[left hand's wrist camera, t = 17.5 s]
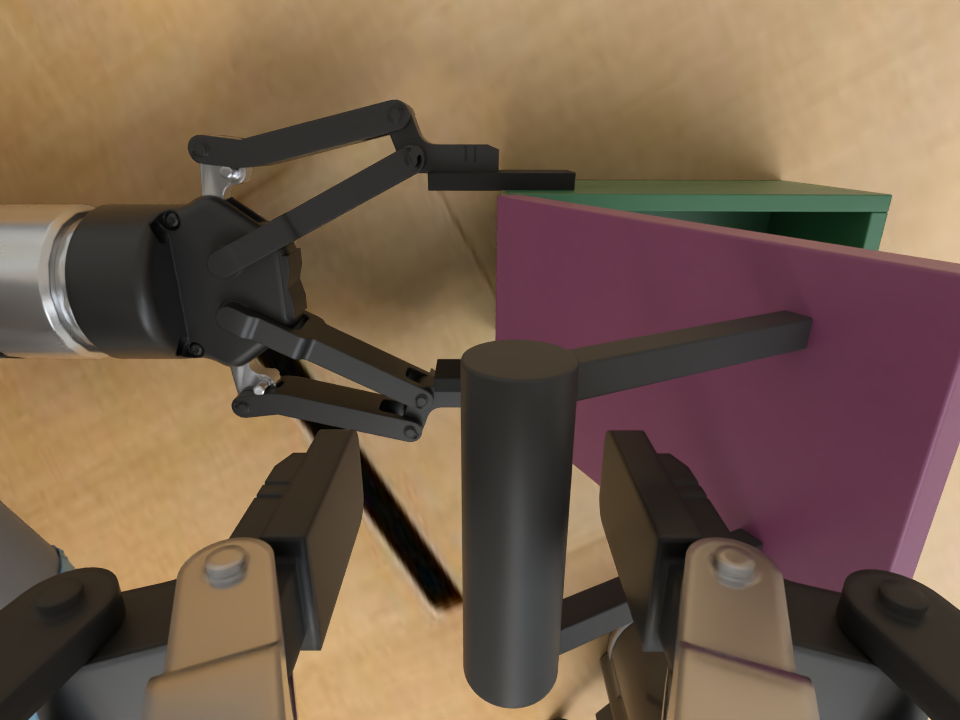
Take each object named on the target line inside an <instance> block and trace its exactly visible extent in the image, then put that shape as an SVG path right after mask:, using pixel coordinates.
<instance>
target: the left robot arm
mask: <svg viewBox="0 0 960 720" xmlns="http://www.w3.org/2000/svg"><path fill="white" fill-rule="evenodd" d="M599 502H600V515H601V521H602V525H603V528H604V531H605V534H606V537H607V540H608V544H609V547H610V550H611V553H612V556H613V559H614V562H615V566H616V569H617V572H618V575H619V578H620V581H621V584H622V587H623V591H624V594H625V597H626V600H627V603H628V606H629V609H630V613H631V616H632V619H633V622H632V623H629V624H627V625H625V626H623V627H620V628H618V629H616V630H614V631H612V633H611V635H610V638H609V641H608V648H607V651H608V652H607V653H606V654H605V655H604V656H603V657H602V658H601V659H600V664H601V668H602V673H603V677H604V681H605V686H606V690H607V694H608V699H609V704H607V705H606V706H605V707H604V708H602V709H601V710H600V711H599V712H597V713H596V719H597V720H928V717H929V718H930V719H931V720H960V610H959V609H957V608H956V607H955V606H954V605H952V604H951V603H950V602H948V601H947V600H946V599H944V598H943V597H942V596H940V595H939V594H938V593H936V592H935V591H933V590H932V589H930V588H928V587H927V586H925V585H923V584H921V583H919V582H917V581H915V580H913V579H910V578H908V577H905V576H903V575H900V574H896V573H893V572H889V571H884V570H877V569H864V570H858V571H855V572H853V573H851V574H849V575H848V576H847V577H846V579H845V582H844V585H843V588H842V592H836V591H832V590H827V589H823V588H818V587H814V586H809V585H805V584H800V583H797V582H793V581H790V580H787V579H784V578H783V576H782V573H781V571H780V569H779V567H778V566H777V565H776V563H775V562H774V561H773V560H772V559H771V558H770V557H769V556H767V555H766V554H765V553H763V552H762V551H760V550H759V549H757V548H755V547H753V546H751V545H749V544H746V543H744V542H741V541H737V540H735V539H734V537H733V535H732V534H731V532H730V531H729V529H728V528H727V526H726V524H725V523H724V521H723V520H722V518H721V517H720V515H719V514H718V512H717V510H716V509H715V507H714V506H713V504H712V503H711V501H710V499H707V495H706V493H705V492H704V490H703V489H702V487H701V486H699V482H698V481H697V479H696V478H695V476H694V475H693V473H692V471H691V470H690V468H689V467H688V466H687V465H685V464H684V463H683V462H681V461H680V460H678V459H677V458H676V457H674V456H673V455H671V454H670V453H657V452H656V451H655V449H654V447H653V445H652V444H651V442H650V440H649V438H648V437H647V435H646V433H645V432H644V431H643V430H608V431H607V432H606V435H605V439H604V450H603V461H602V472H601V483H600V497H599ZM362 513H363V485H362V474H361V462H360V451H359V440H358V435H357V432H356V430H319V431H318V433H317V435H316V436H315V438H314V440H313V442H312V444H311V445H310V447H309V449H308V451H307V453H292V454H291V455H290V456H288V457H287V458H285V459H284V460H283V461H281V462H280V463H278V464H277V465H276V466H275V467H274V468H273V470H272V471H271V473H270V475H269V476H268V478H267V479H266V481H265V485H263V486H262V487H261V489H260V490H259V492H258V494H257V498H254V500H253V501H252V503H251V505H250V506H249V508H248V509H247V511H246V513H245V514H244V516H243V517H242V519H241V520H240V522H239V524H238V525H237V527H236V528H235V530H234V532H233V533H232V535H231V536H230V538H229V539H226V540H223V541H219V542H216V543H214V544H211V545H209V546H207V547H205V548H203V549H201V550H200V551H198V552H197V553H195V554H194V555H193V556H191V557H190V558H189V559H188V560H187V561H186V562H185V563H184V565H183V566H182V567H181V569H180V571H179V573H178V576H177V579H175V580H172V581H168V582H164V583H160V584H155V585H151V586H146V587H141V588H137V589H132V590H128V591H123V592H121V590H120V586H119V583H118V580H117V577H116V576H115V575H114V574H113V573H112V572H111V571H109V570H106V569H103V568H95V567H92V568H80V569H75V570H70V571H67V572H63V573H60V574H57V575H55V576H52V577H50V578H48V579H46V580H44V581H41V582H39V583H38V584H36V585H34V586H33V587H31V588H29V589H28V590H26V591H25V592H24V593H22V594H21V595H19V596H18V597H17V598H16V599H14V600H13V601H12V602H10V603H9V604H8V605H6V606H5V607H4V608H3V609H1V610H0V720H29V719H30V718H31V717H32V716H33V715H34V714H35V713H37V716H38V719H39V720H299V719H298V710H297V700H296V691H295V682H294V675H293V669H294V666H295V664H296V661H297V658H298V655H299V652H300V650H321V648H322V645H323V642H324V639H325V636H326V632H327V629H328V626H329V623H330V620H331V616H332V613H333V610H334V607H335V604H336V600H337V597H338V594H339V591H340V588H341V584H342V581H343V578H344V575H345V572H346V568H347V565H348V562H349V559H350V556H351V552H352V549H353V546H354V543H355V540H356V536H357V533H358V530H359V527H360V523H361V519H362ZM557 720H566V719H557Z"/></svg>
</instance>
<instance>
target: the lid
mask: <svg viewBox="0 0 960 720" xmlns="http://www.w3.org/2000/svg"><path fill="white" fill-rule="evenodd" d="M460 370H461V470H462V570H463V667H464V673H465V677H466V679H467V681H468V683H469V685H470V686H471V688H472V689H473V690H474V692H475V693H476V694H477V695H478V696H479V697H481V698H482V699H484V700H485V701H487V702H489V703H491V704H493V705H496V706H499V707H503V708H523V707H527V706H530V705H532V704H535V703H537V702H538V701H540V700H541V699H543V698H544V697H545V696H546V695H547V694H548V693H549V692H550V690H551V689H552V687H553V686H554V684H555V681H556V678H557V673H558V660H559V655H561V654H563V653H565V652H567V651H569V650H572V649H574V648H576V647H578V646H581V645H583V644H585V643H587V642H589V641H592V640H594V639H596V638H598V637H601V636H603V635H605V634H607V633H609V632H612V631H614V630H616V629H618V628H620V627H623V626H625V625H627V624H629V623H632V622H633V619H632V616H631V613H630V609H629V606H628V603H627V600H626V597H625V594H624V591H623V587H622V584H621V581H620V578H619V577H617V578H614V579H612V580H609V581H607V582H604V583H602V584H599V585H597V586H594V587H592V588H589V589H587V590H584V591H582V592H579V593H577V594H574V595H572V596H569V597H567V598H564V599H563V589H564V575H565V561H566V546H567V532H568V518H569V504H570V490H571V476H572V464H574V465H575V466H576V467H577V468H579V469H580V470H581V471H582V472H584V473H585V474H586V475H587V476H588V477H590V478H591V479H592V480H593V481H595V482H596V483H597V484H598V485H600V483H601V472H602V461H603V450H604V439H605V435H606V432H607V431H608V430H643V431H644V432H645V433H646V435H647V437H648V438H649V440H650V442H651V444H652V445H653V447H654V449H655V451H656V452H657V453H670V454H671V455H673V456H674V457H676V458H677V459H678V460H680V461H681V462H683V463H684V464H685V465H687V466H688V467H689V468H690V470H691V471H692V473H693V475H694V476H695V478H696V479H697V481H698V482H699V486H701V487H702V489H703V490H704V492H705V493H706V495H707V499H710V501H711V503H712V504H713V506H714V507H715V509H716V510H717V512H718V514H719V515H720V517H721V518H722V520H723V521H724V523H725V524H726V526H727V528H728V529H729V531H730V532H731V534H732V535H733V537H734V539H735V540H737V541H741V542H744V543H746V544H749V545H751V546H753V547H755V548H757V549H759V550H760V551H762V552H763V553H765V554H766V555H767V556H769V557H770V558H771V559H772V560H773V561H774V562H775V563H776V565H777V566H778V567H779V569H780V571H781V573H782V576H783V578H784V579H787V580H790V581H793V582H797V583H800V584H805V585H809V586H814V587H818V588H823V589H827V590H832V591H836V592H842V588H843V585H844V582H845V579H846V577H847V576H848V575H849V574H851V573H853V572H855V571H858V570H864V569H877V570H884V571H889V572H893V573H896V574H900V575H903V576H905V577H908V578H910V579H912V578H913V575H914V572H915V569H916V567H917V564H918V561H919V558H920V555H921V552H922V549H923V546H924V543H925V541H926V538H927V535H928V532H929V529H930V526H931V523H932V520H933V517H934V515H935V512H936V509H937V506H938V503H939V500H940V497H941V494H942V492H943V489H944V486H945V483H946V480H947V477H948V474H949V471H950V468H951V466H952V463H953V460H954V457H955V454H956V451H957V448H958V445H959V442H960V264H958V263H951V262H945V261H938V260H932V259H926V258H919V257H913V256H907V255H900V254H894V253H888V252H881V251H875V250H869V249H862V248H856V247H849V246H843V245H837V244H830V243H824V242H818V241H811V240H805V239H799V238H792V237H786V236H780V235H773V234H767V233H760V232H754V231H748V230H741V229H735V228H729V227H722V226H716V225H710V224H703V223H697V222H690V221H684V220H678V219H671V218H665V217H659V216H652V215H646V214H640V213H633V212H627V211H621V210H614V209H608V208H601V207H595V206H589V205H582V204H576V203H570V202H563V201H557V200H551V199H544V198H538V197H531V196H525V195H519V194H518V195H499V196H498V197H497V270H496V341H492V342H487V343H483V344H480V345H477V346H474V347H472V348H470V349H468V350H467V351H466V352H465V353H464V354H463V356H462V358H461V362H460Z"/></svg>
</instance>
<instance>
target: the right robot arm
mask: <svg viewBox="0 0 960 720" xmlns="http://www.w3.org/2000/svg"><path fill="white" fill-rule="evenodd" d="M387 135H390V136H391V139H392V141H393V144H394V146H395V149H396V152H395V153H393V154H391V155H389V156H387V157H386V158H384V159H382V160H380V161H378V162H377V163H375V164H373V165H371V166H369V167H368V168H366V169H364V170H362V171H361V172H359V173H357V174H355V175H353V176H352V177H350V178H348V179H346V180H344V181H343V182H341V183H339V184H337V185H335V186H334V187H332V188H330V189H328V190H327V191H325V192H323V193H321V194H319V195H318V196H316V197H314V198H312V199H310V200H309V201H307V202H305V203H303V204H302V205H300V206H298V207H296V208H294V209H293V210H291V211H289V212H287V213H285V214H283V215H281V216H279V217H277V218H275V219H273V220H272V221H270V222H268V221H267V220H265V219H264V218H262V217H261V216H260V215H258V214H257V213H255V212H254V211H252V210H251V209H249V208H248V207H246V206H245V205H243V204H242V203H240V202H239V201H237V200H236V199H234V198H233V197H231V192H232V190H233V188H234V187H235V186H236V185H238V184H241V183H246V182H248V181H250V179H251V178H252V176H253V167H259V166H268V165H274V164H279V163H283V162H287V161H290V160H294V159H298V158H302V157H306V156H310V155H314V154H318V153H321V152H325V151H329V150H333V149H337V148H341V147H345V146H349V145H352V144H356V143H360V142H364V141H368V140H372V139H376V138H380V137H383V136H387ZM188 151H189V154H190V156H191V157H192V159H194V160H195V161H196V162H198V163H200V171H201V189H202V196H201V197H198V198H196V199H195V200H193V201H192V202H190V203H188V204H184V205H102V206H99V207H93V206H90V205H87V204H55V205H0V358H58V359H102V358H107V357H109V356H111V357H114V358H120V359H188V358H208V359H212V360H215V361H217V362H219V363H221V364H223V365H226V366H229V367H230V368H231V371H232V375H233V378H234V381H235V385H236V388H237V392H238V396H237V397H236V398H235V399H234V400H233V402H232V410H233V411H234V413H235V414H236V415H237V416H240V417H244V418H248V417H258V416H267V415H277V414H278V415H283V416H288V417H293V418H297V419H302V420H307V421H312V422H316V423H321V424H326V425H331V426H336V427H340V428H345V429H350V430H356V431H359V432H364V433H369V434H374V435H378V436H383V437H388V438H393V439H398V440H402V441H407V442H414V441H417V440H418V439H419V438H420V437H421V434H422V430H423V427H424V425H425V422H426V419H427V417H428V415H429V413H430V412H431V411H432V410H434V409H436V408H440V407H461V370H460V362H461V359H438V360H437V365H436V370H434V369H432V368H431V371H430V372H427V371H425V370H423V369H421V368H418V367H416V366H414V365H412V364H410V363H408V362H406V361H403V360H401V359H399V358H397V357H395V356H393V355H391V354H388V353H386V352H384V351H382V350H380V349H378V348H376V347H374V346H371V345H369V344H367V343H365V342H363V341H361V340H359V339H356V338H354V337H352V336H350V335H348V334H346V333H344V332H342V331H339V330H337V329H335V328H333V327H331V326H329V325H327V324H326V323H325V322H324V320H323V319H321V318H320V317H318V316H316V315H314V314H311V313H309V312H307V311H305V309H306V308H307V303H306V294H305V291H304V289H303V286H302V284H301V281H300V273H301V267H302V258H301V249H300V248H296V246H295V244H294V242H293V241H295V240H297V239H298V238H300V237H302V236H304V235H306V234H308V233H309V232H311V231H313V230H315V229H317V228H318V227H320V226H322V225H324V224H326V223H328V222H329V221H331V220H333V219H335V218H337V217H338V216H340V215H342V214H344V213H346V212H348V211H349V210H351V209H353V208H355V207H357V206H359V205H360V204H362V203H364V202H366V201H368V200H369V199H371V198H373V197H375V196H377V195H379V194H380V193H382V192H384V191H386V190H388V189H390V188H391V187H393V186H395V185H397V184H399V183H400V182H402V181H404V180H406V179H408V178H410V177H411V176H413V175H415V174H417V173H428V191H506V190H575V173H574V172H571V171H568V170H498V164H499V149H496V148H494V147H492V146H489V145H437V144H432V143H430V142H428V141H427V140H426V139H425V138H424V137H423V136H422V134H421V131H420V129H419V126H418V123H417V121H416V118H415V113H414V111H413V109H412V108H411V107H410V106H409V105H407V104H405V103H404V102H402V101H399V100H390V101H386V102H382V103H378V104H374V105H371V106H367V107H363V108H359V109H355V110H352V111H348V112H344V113H340V114H336V115H333V116H329V117H325V118H321V119H317V120H314V121H310V122H306V123H302V124H298V125H295V126H291V127H287V128H283V129H279V130H276V131H272V132H268V133H264V134H260V135H257V136H253V137H249V138H240V137H231V136H220V135H196V136H194V137H192V138H191V139H190V141H189V143H188ZM268 348H270V349H273V350H275V351H277V352H279V353H282V354H284V355H286V356H288V357H290V358H293V359H298V360H299V359H305V360H308V361H310V362H312V363H315V364H317V365H319V366H321V367H323V368H326V369H328V370H330V371H332V372H334V373H337V374H339V375H341V376H343V377H345V378H348V379H350V380H352V381H354V382H356V383H359V384H361V385H363V386H365V387H367V388H370V389H372V390H374V391H376V392H378V393H381V394H377V393H372V392H368V391H363V390H358V389H354V388H349V387H345V386H340V385H335V384H331V383H326V382H321V381H317V380H312V379H308V378H303V377H297V376H280V375H279V371H278V370H277V369H271V368H265V367H262V366H261V365H259V364H258V363H257V361H256V359H255V358H256V357H257V356H259V355H260V354H261V353H263V352H264V351H265V350H267V349H268ZM382 394H383V395H382ZM70 570H75V568H74V566H73V565H72V564H71V563H70V562H69V560H68V557H67V556H66V555H65V554H64V551H63V550H61V549H59V548H57V547H56V546H55V545H50V544H49V543H47V542H46V541H45V540H44V539H43V538H42V537H41V536H40V535H38V534H37V533H36V532H35V531H34V530H33V529H32V528H31V527H29V526H28V525H27V524H26V523H25V522H24V521H23V520H21V519H20V518H19V517H18V516H17V515H16V514H15V513H14V512H12V511H11V510H10V509H9V508H8V507H7V506H6V505H5V504H3V503H2V502H1V501H0V610H1V609H3V608H4V607H5V606H6V605H8V604H9V603H10V602H12V601H13V600H14V599H16V598H17V597H18V596H19V595H21V594H22V593H24V592H25V591H26V590H28V589H29V588H31V587H33V586H34V585H36V584H38V583H39V582H41V581H44V580H46V579H48V578H50V577H52V576H55V575H57V574H60V573H63V572H67V571H70ZM29 720H39V719H38V716H37V713H35V714H34V715H33V716H32V717H31V718H30V719H29Z"/></svg>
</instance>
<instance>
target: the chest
mask: <svg viewBox="0 0 960 720" xmlns="http://www.w3.org/2000/svg"><path fill="white" fill-rule="evenodd" d="M518 194H519V195H525V196H531V197H538V198H544V199H551V200H557V201H563V202H570V203H576V204H582V205H589V206H595V207H601V208H608V209H614V210H621V211H627V212H633V213H640V214H646V215H652V216H659V217H665V218H671V219H678V220H684V221H690V222H697V223H703V224H710V225H716V226H722V227H729V228H735V229H741V230H748V231H754V232H760V233H767V234H773V235H780V236H786V237H792V238H799V239H805V240H811V241H818V242H824V243H830V244H837V245H843V246H849V247H856V248H862V249H869V250H875V251H878V249H879V245H880V241H881V237H882V233H883V229H884V226H885V222H886V218H887V212H888V210H889V206H890V202H891V198H892V195H890V194H882V193H874V192H867V191H859V190H851V189H844V188H836V187H828V186H821V185H813V184H805V183H798V182H790V181H782V180H575V190H506V191H500V195H518Z"/></svg>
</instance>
